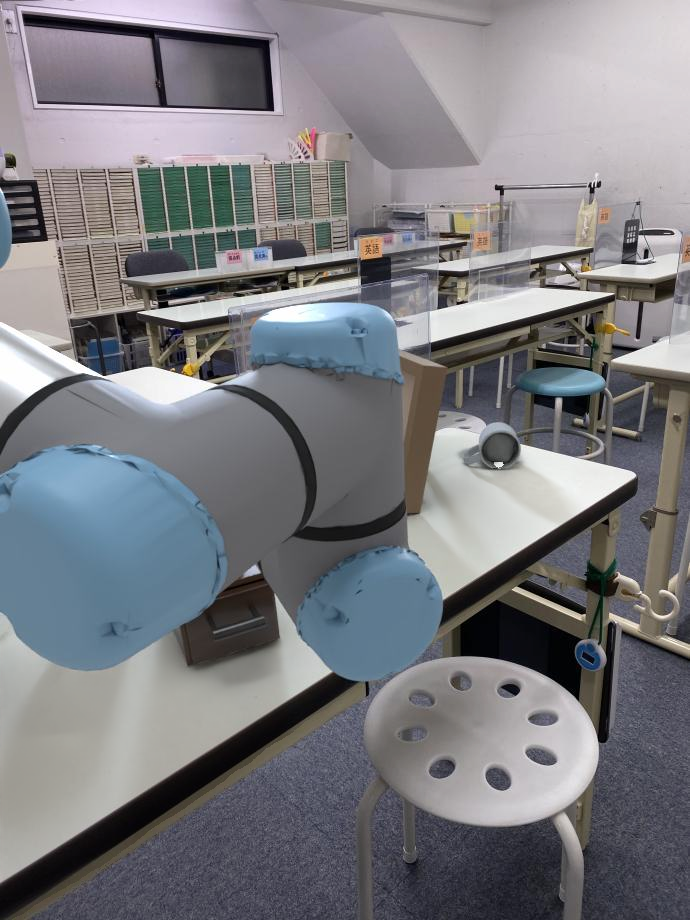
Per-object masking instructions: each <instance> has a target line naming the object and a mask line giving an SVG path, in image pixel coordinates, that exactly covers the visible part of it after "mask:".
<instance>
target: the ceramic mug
mask: <svg viewBox="0 0 690 920" xmlns="http://www.w3.org/2000/svg"><path fill="white" fill-rule="evenodd" d="M521 453H522V445H521V441H520V440H519V438H518V436H517V434H516V431H515V429H514V428H513V427H512V426H510V425H509V424H507V423H506V422H501V421H498V422H497V421H496V422H492V423H489V424H487V425H486V426H485V427H484V428H483V429H482V431H481V432H480V435H479V436H478V444H475V445H474V446H472V447H470V448H468V449H467V450H465V451H464V452H463V454H462V460H463V462H464V464H465V465H474V464H477V463H479V462H482V463H483V464H484V465H486V466H487V467H488V468H491V469H493V468H498V467H496V466H495V465H494V462H503V464H504V465H503V466H502V467H499V468H506V469H509V468H511V467H513V466H514V465H515V464H516V463H517V461H518V460H519V458H520V456H521Z"/></svg>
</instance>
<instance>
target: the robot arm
mask: <svg viewBox="0 0 690 920" xmlns="http://www.w3.org/2000/svg"><path fill="white" fill-rule="evenodd" d="M11 221H12V220H11V216H10V212H9V208H8V205H7V201H6V198H5V195H4V192H3V191H2V189H1V188H0V270H1V269H2V268H3V267H4V266H5V265H6V263H7V261H8V260H9V258H10V255H11V251H12V241H13V231H12V222H11ZM249 334H250V335H249V336H250V337H249V338H250V341H249V342H250V355H249V357H248V358H247V359H248V364H249V366H251V369H252V371H250V372H247V373H245V374H242V375H240V376H238V377H235V378H233V379H229V380H228V381H224V382H223V383H220V384H217V385H215V386H213V387H210V388H208V389H206V390H203V391H201V392H199V393H196V394H193V395H191V396H188V397H186V398H183V399H180V400H178V401H175V402H172V403H170V404H167V403H165V404H163V403H158V402H154V401H152V400H150V399H149V398H147V397H144V396H142V395H140V394H139V393H138V392H135V391H133V390H131V389H129V388H127V387H125V386H123V385H120V384H118V383H117V382H114V381H112V380H110V379H109V378H107V377H105V376H103V375H101V374H99V373H98V372H96V371H94V370H92V369H90V368H88V367H86V366H84V365H82V364H81V363H79V362H76V361H75V360H73V359H71V358H69V357H67V356H65V355H63V354H62V353H60V352H59V351H56V350H54V349H52V348H50V347H48V346H47V345H46V344H45V345H44V344H42V343H41V342H39V341H37V340H35V339H34V338H31V337H30V336H27V335H26V334H24V333H22V332H20V331H18V330H16V329H15V328H13V327H11V326H9V325H7V324H6V323H3V322H1V321H0V613H1V614H3V615H4V616H5V617H6V619H7V620H8V621H9V623H10V625H11V626H12V629H13V631H14V634H15V636H16V637H17V639H18V640H20V642H22V643H23V644H24V645H25V646H26V647H28V648H29V649H30V650H31V651H32V652H34V653H36V655H38V656H40V657H41V658H43V659H45V660H46V661H48V662H50V663H53V664H55V665H57V666H59V667H63V668H65V669H69V670H72V671H73V670H74V671H75V670H76V671H82V672H94V671H103V670H106V669H110V668H114V667H116V666H118V665H120V664H122V663H124V662H126V661H127V660H129V659H131V658H132V657H133V656H136V654H138V653H140V652H141V651H143V650H146V649H147V648H148V647H150V646H151V645H153V644H154V643H156V642H157V641H159V640H160V639H162V638H163V637H166V635H168V634H170V633H171V632H174V629H176V628H178V627H179V626H181V625H182V624H184V623H187V622H189V621H191V620H193V619H194V618H196V617H198V616H199V615H200V614H201V613H202V612H203V611H204V610H205V609H207V608H208V607H209V606H210V605H211V604H212V603H213V602H214V600H215V598H216V596H217V595H218V594H219V593H221V592H222V591H223V590H224V589H226V588H227V587H228V586H229V585H230V584H232V583H233V582H234V581H235V580H237V579H238V578H239V577H240V576H241V575H243V574H244V573H245V572H246V571H248V570H249V569H250V568H251V567H253V566H254V565H256V567H257V568H258V569H259V571H260V572H261V574H262V576H263V577H264V579H265V580H266V581H267V582H268V584H269V585H270V587H271V588H272V590H273V592H274V593H275V597H276V598H277V600H278V601H279V602H280V604H281V606H282V607H283V609H284V610H285V612H286V614H287V615H288V616H289V618H290V619H291V621H292V623H293V625H294V626H295V630H296V633H297V635H298V636H299V637H300V639H301V640H302V641H303V642H304V643H305V644H306V646H308V647H309V648H311V650H312V651H313V652H314V653H315V655H317V656H318V658H319V659H320V661H322V663H323V664H324V665H325V666H326V667H327V668H328V669H329V670H330V671H332V672H333V673H334V674H336V675H337V676H339V677H341V678H344V679H346V680H350V681H355V682H374V681H379V680H381V679H385V678H387V677H389V676H393V675H395V674H398V673H400V672H402V671H404V670H405V669H406V668H408V667H410V666H411V665H413V664H414V663H415V662H416V661H417V660H418V659H419V658H420V657H421V656H422V655H423V654H424V653H425V651H426V650H427V649H428V648H429V646H430V645H431V644H432V641H433V640H434V639H435V637H436V634H437V632H438V630H439V627H440V624H441V621H442V617H443V611H444V600H443V593H442V589H441V587H440V584H439V581H438V580H437V578H436V576H435V575H434V573H433V572H432V571H431V569H430V568H429V567H428V566H426V562H425V561H424V560H423V559H422V558H421V557H420V556H419V553H418V552H416V551H414V550H412V549H411V548H410V545H409V533H408V531H409V530H408V529H409V528H408V513H407V506H406V503H405V493H404V492H405V481H404V439H403V396H402V385H404V377H403V376H402V375H401V367H400V358H399V339H398V329H397V325H396V322H395V320H394V318H393V316H392V315H391V314H390V313H389V312H388V311H386V310H385V309H383V308H381V307H380V306H377V305H373V304H369V303H362V302H319V303H309V304H308V303H307V304H300V305H299V304H298V305H292V306H287V307H282V308H278V309H273V310H271V311H268V312H265V313H262V315H260V317H259V318H257V319H256V320H255V322H254V323H253V325H252V326H251V328H250V333H249Z"/></svg>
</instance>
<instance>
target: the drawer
mask: <svg viewBox="0 0 690 920" xmlns="http://www.w3.org/2000/svg"><path fill="white" fill-rule="evenodd" d="M185 626H186V632H187V637H188V643H189V648H190V654H191V659H192V662H193V665H192V666H197V665H200V664H204V663H206V662H209V661H213V660H215V659H219V658H222V657H225V656H228V655H231V654H234V653H238V652H241V651H244V650H247V649H249V648H254V647H256V646H260V645H262V644H265V643H268V642H271V641H272V642H273V641H275V640H278V639H279V638H278V633H277V625H276V617H275V608H274V600H273V592H272V588H271V587H270V585H269V584H268V582H267V581H266V580H263V581H260V579H259V580H255V581H252V582H248V583H245V584H241V585H238V586H234V587H231V588H227V589H224V590H223V591H222V592H221V593H219V594H218V595H217V596H216V598H215V600H214V602H213V603H212V604H211V605H210V606H209V607H208V608H207V609H205V610H204V611H203V612H202V613H201V614H200V615H199V616H198V617H196V618H194V619H193V620H191V621H189V622H187V623H185Z"/></svg>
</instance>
